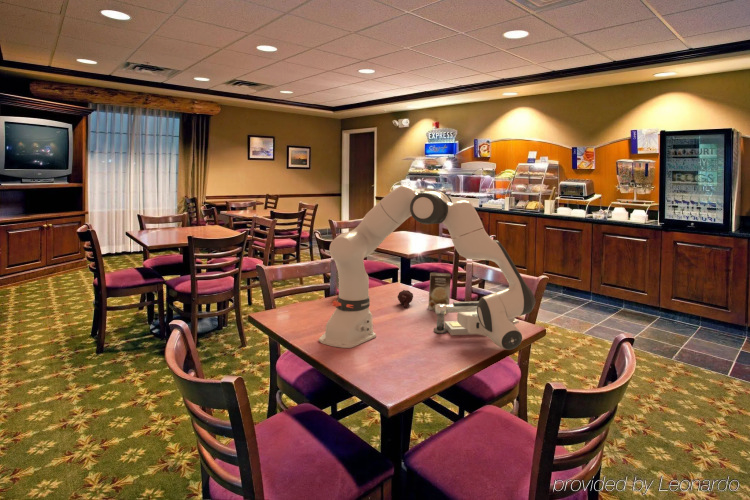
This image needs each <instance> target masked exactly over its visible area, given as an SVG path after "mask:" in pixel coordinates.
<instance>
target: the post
mask: <svg viewBox="0 0 750 500" xmlns="http://www.w3.org/2000/svg"><path fill="white" fill-rule="evenodd" d="M444 322H445V314H437V313H436V327H434V328H433V332H434V333H435V334H446V333H448V331H447V329H445V328H444Z"/></svg>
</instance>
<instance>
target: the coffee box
mask: <svg viewBox="0 0 750 500" xmlns="http://www.w3.org/2000/svg"><path fill="white" fill-rule="evenodd" d="M451 279H452V274H451V273H447V272H446V273H443V272H430V273H429V287H428V288H429V289H428V290H429V292H428V306H427V307H428V311H435V305H436V304H445V305H450V298H451V296H450V295H451V283H452V282H451V281H452V280H451Z"/></svg>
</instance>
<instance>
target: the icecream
mask: <svg viewBox="0 0 750 500" xmlns="http://www.w3.org/2000/svg"><path fill="white" fill-rule="evenodd" d="M413 298H414V293H413V292H411V291H410V290H407V289H403V290H402V291H399V292H398V294H397V299H398V300H397V301H399V303H400V304H402V305H403V307H404V309H407V308H408V306H409V304H410V303H412V301H413Z"/></svg>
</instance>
